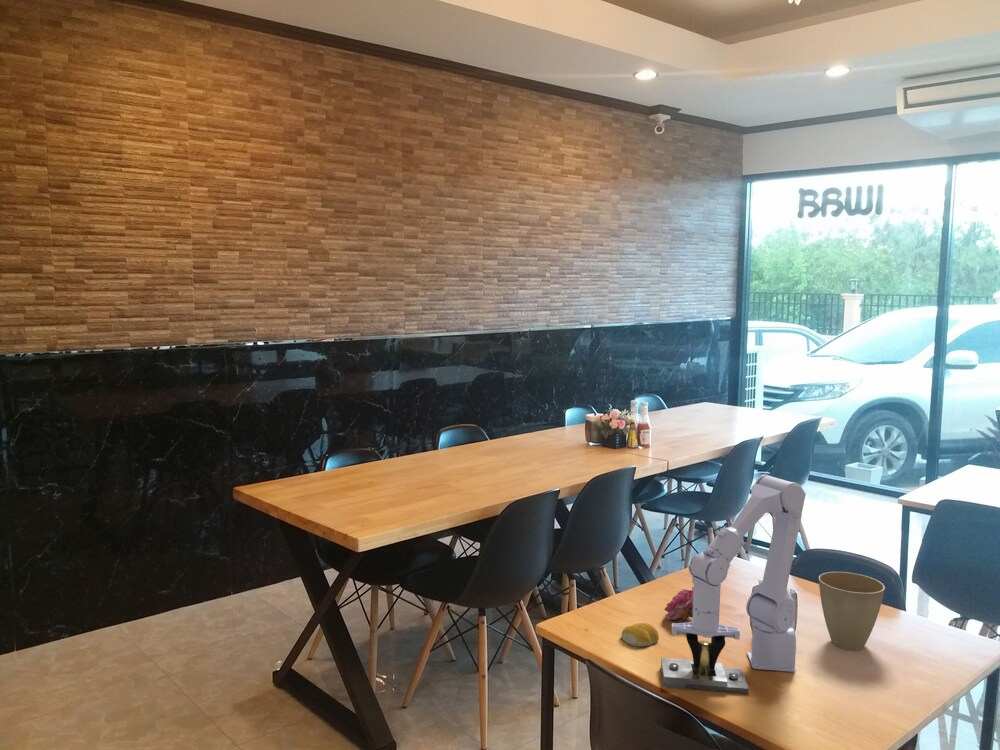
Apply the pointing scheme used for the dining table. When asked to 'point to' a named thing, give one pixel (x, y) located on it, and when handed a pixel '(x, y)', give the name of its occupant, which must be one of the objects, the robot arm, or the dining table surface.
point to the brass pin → (704, 658)
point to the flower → (680, 605)
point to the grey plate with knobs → (702, 677)
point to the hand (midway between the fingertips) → (703, 666)
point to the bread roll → (640, 634)
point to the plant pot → (850, 607)
